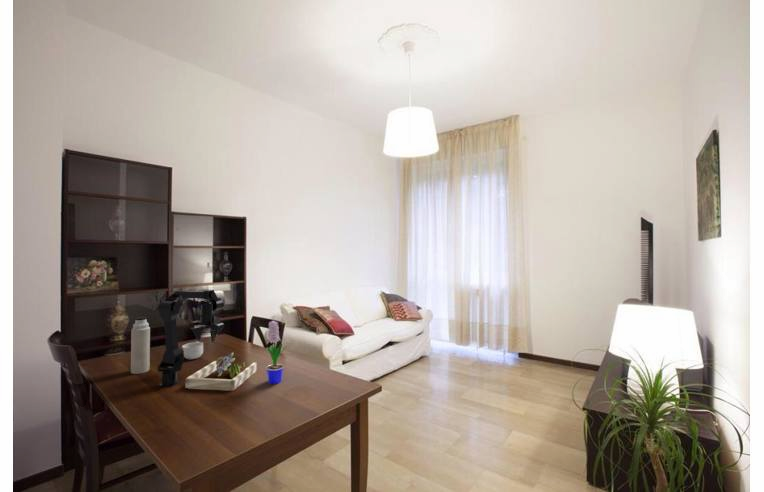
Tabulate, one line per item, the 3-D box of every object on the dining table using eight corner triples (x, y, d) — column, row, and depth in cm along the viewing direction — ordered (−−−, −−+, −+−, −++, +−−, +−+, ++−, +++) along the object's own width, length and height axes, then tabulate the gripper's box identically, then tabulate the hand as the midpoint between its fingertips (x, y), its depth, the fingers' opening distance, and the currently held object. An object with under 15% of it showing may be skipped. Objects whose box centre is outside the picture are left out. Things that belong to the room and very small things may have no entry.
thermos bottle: (139, 367, 182) (140, 315, 182) (153, 368, 181) (153, 316, 181) (126, 373, 174) (127, 318, 174) (141, 374, 173) (141, 319, 173)
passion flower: (219, 388, 172) (209, 364, 176) (242, 377, 181) (232, 354, 185) (226, 380, 164) (215, 355, 168) (249, 369, 173) (239, 346, 177)
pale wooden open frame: (233, 390, 156) (233, 380, 156) (185, 388, 157) (185, 378, 157) (256, 370, 180) (256, 362, 180) (214, 369, 182) (214, 360, 182)
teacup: (196, 361, 193) (196, 347, 193) (177, 360, 194) (178, 346, 194) (209, 353, 207) (209, 340, 207) (192, 353, 208) (192, 339, 208)
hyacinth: (281, 386, 162) (282, 323, 161) (261, 384, 164) (262, 321, 163) (289, 379, 170) (290, 319, 170) (271, 377, 172) (272, 318, 172)
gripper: (231, 311, 190) (230, 339, 190) (204, 308, 195) (203, 336, 195) (216, 314, 180) (215, 344, 179) (188, 312, 185) (187, 341, 184)
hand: (205, 341), depth 185 cm, fingers open, 9 cm apart
